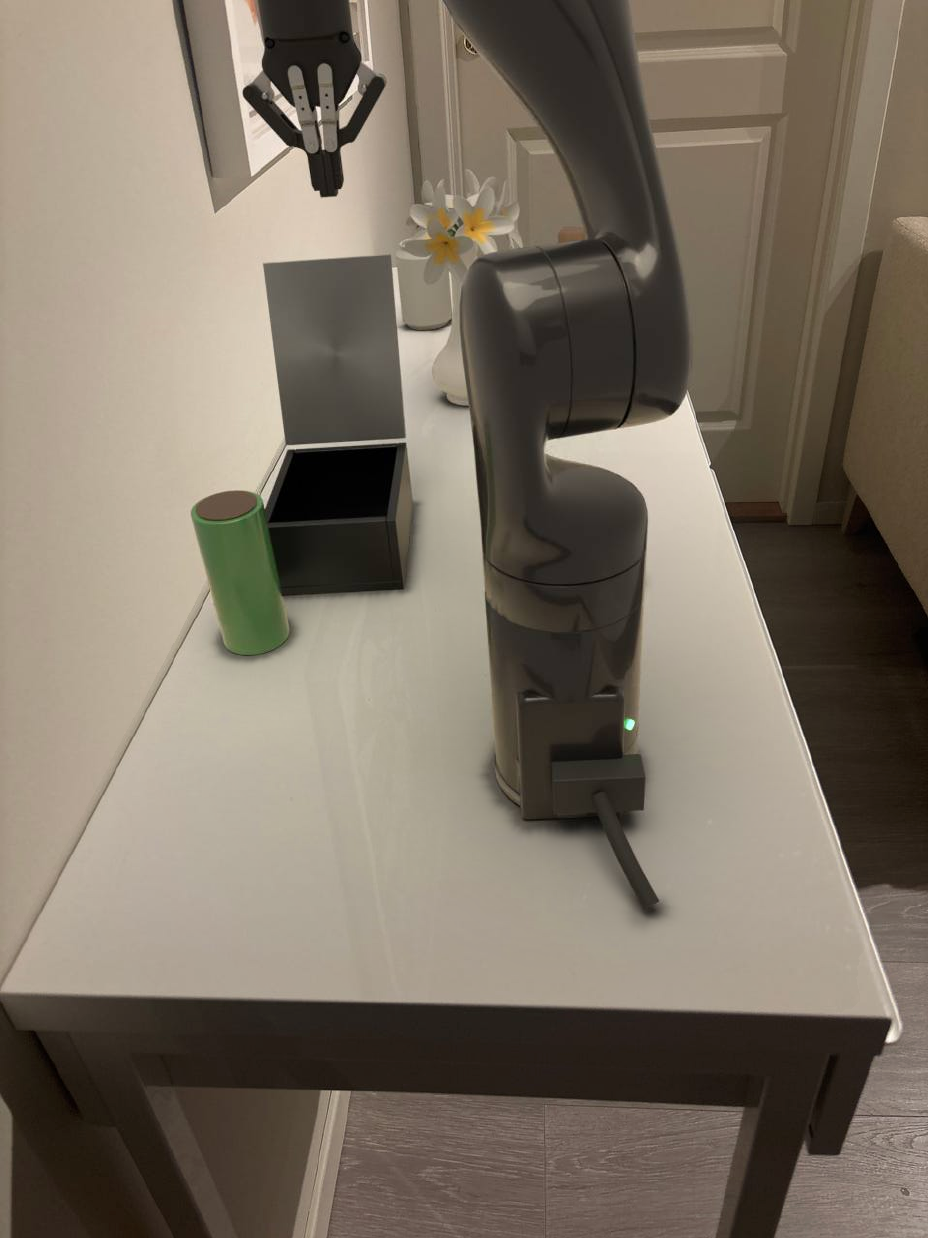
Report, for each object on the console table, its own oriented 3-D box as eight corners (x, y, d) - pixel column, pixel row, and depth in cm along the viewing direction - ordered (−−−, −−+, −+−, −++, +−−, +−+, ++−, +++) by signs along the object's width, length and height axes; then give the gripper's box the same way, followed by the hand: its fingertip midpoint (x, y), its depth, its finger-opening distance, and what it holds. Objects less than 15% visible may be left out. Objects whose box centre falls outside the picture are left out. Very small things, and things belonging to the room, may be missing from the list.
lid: (390, 254, 86) (391, 254, 87) (262, 262, 87) (264, 262, 87) (405, 438, 92) (406, 436, 92) (285, 445, 92) (287, 444, 93)
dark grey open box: (403, 588, 83) (395, 520, 79) (272, 595, 84) (257, 527, 80) (413, 504, 96) (406, 441, 92) (298, 511, 97) (287, 449, 93)
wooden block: (563, 276, 159) (563, 225, 155) (587, 277, 158) (587, 226, 154) (557, 283, 156) (557, 231, 152) (582, 284, 155) (582, 232, 151)
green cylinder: (283, 653, 76) (254, 519, 70) (217, 657, 77) (181, 523, 70) (294, 615, 81) (268, 486, 74) (231, 618, 81) (199, 490, 74)
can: (395, 322, 146) (386, 239, 139) (440, 312, 148) (434, 231, 141) (414, 335, 140) (406, 249, 133) (460, 325, 142) (455, 240, 136)
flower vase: (414, 431, 111) (390, 200, 97) (429, 373, 126) (410, 167, 112) (526, 427, 110) (519, 193, 96) (528, 369, 125) (521, 160, 111)
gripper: (208, -24, 76) (251, 209, 86) (375, -37, 75) (398, 199, 85) (228, -27, 82) (266, 191, 92) (383, -39, 81) (403, 182, 91)
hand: (329, 194), depth 88 cm, fingers closed
